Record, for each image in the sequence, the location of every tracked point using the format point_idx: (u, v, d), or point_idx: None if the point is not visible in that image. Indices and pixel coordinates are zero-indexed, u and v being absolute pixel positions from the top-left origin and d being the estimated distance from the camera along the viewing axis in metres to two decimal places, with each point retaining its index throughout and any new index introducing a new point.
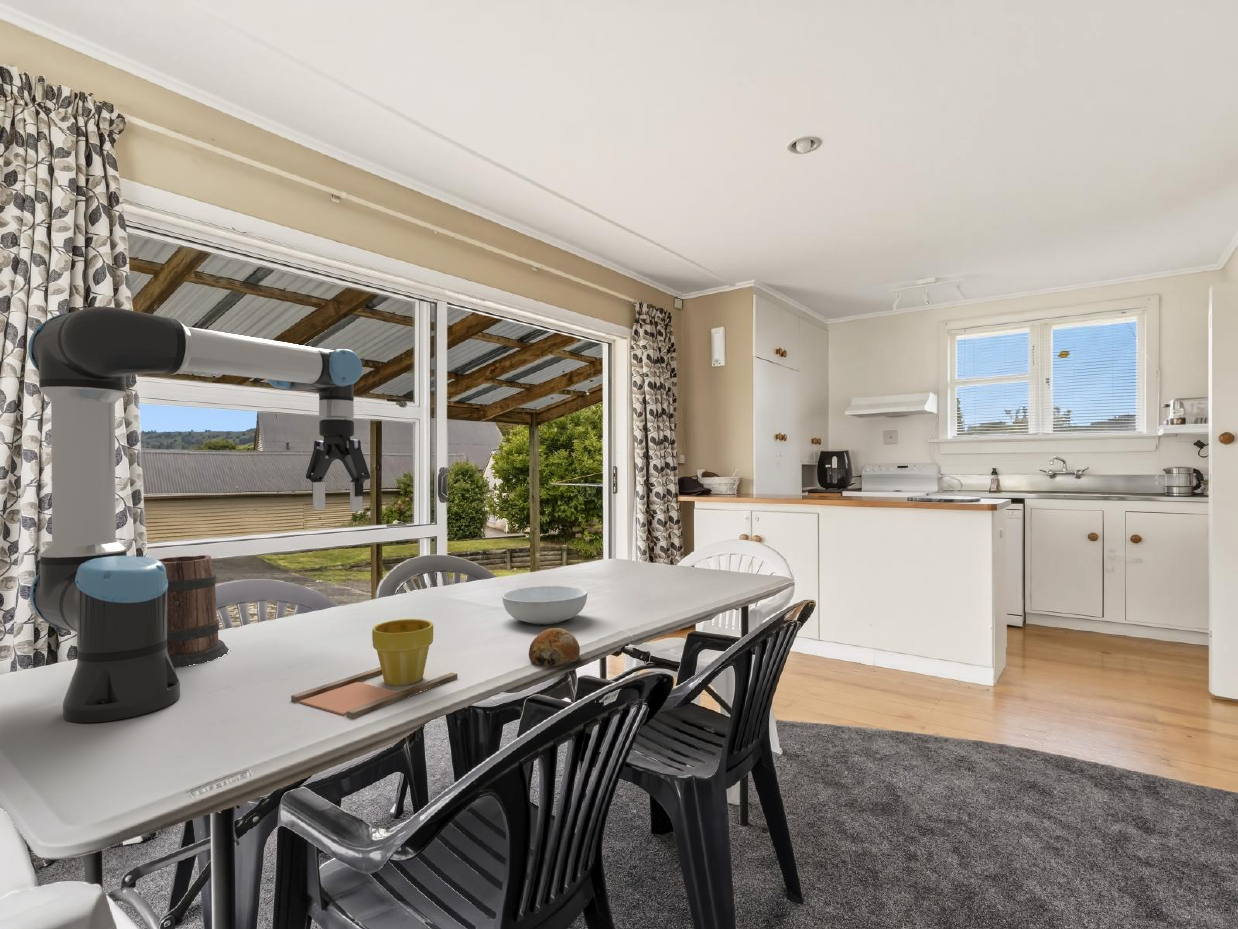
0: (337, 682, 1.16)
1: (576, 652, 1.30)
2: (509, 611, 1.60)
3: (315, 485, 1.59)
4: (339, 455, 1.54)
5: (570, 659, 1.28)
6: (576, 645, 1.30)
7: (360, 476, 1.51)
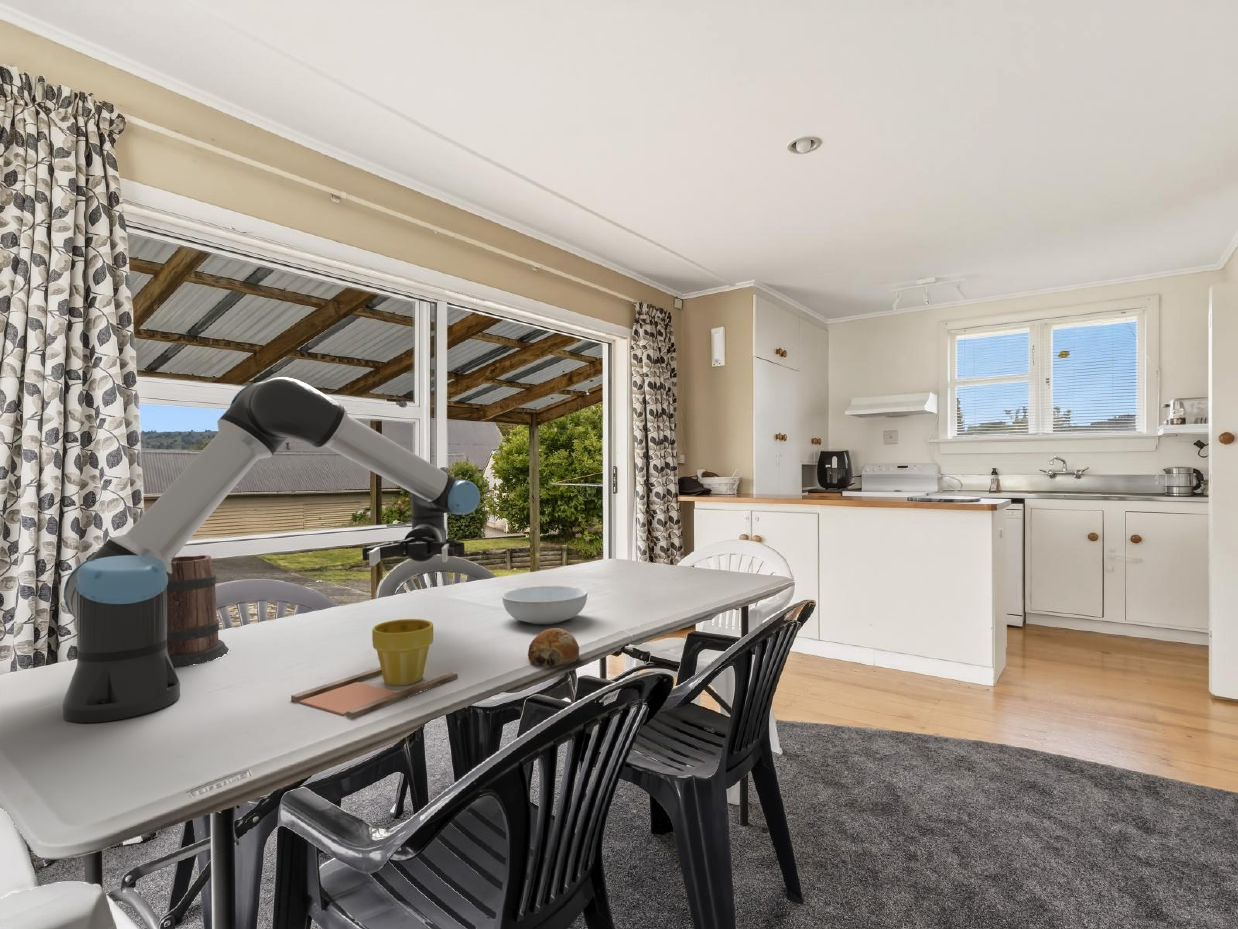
0: (337, 682, 1.16)
1: (575, 652, 1.29)
2: (509, 611, 1.60)
3: (378, 549, 1.34)
4: (432, 539, 1.43)
5: (569, 659, 1.28)
6: (575, 645, 1.30)
7: (462, 543, 1.39)
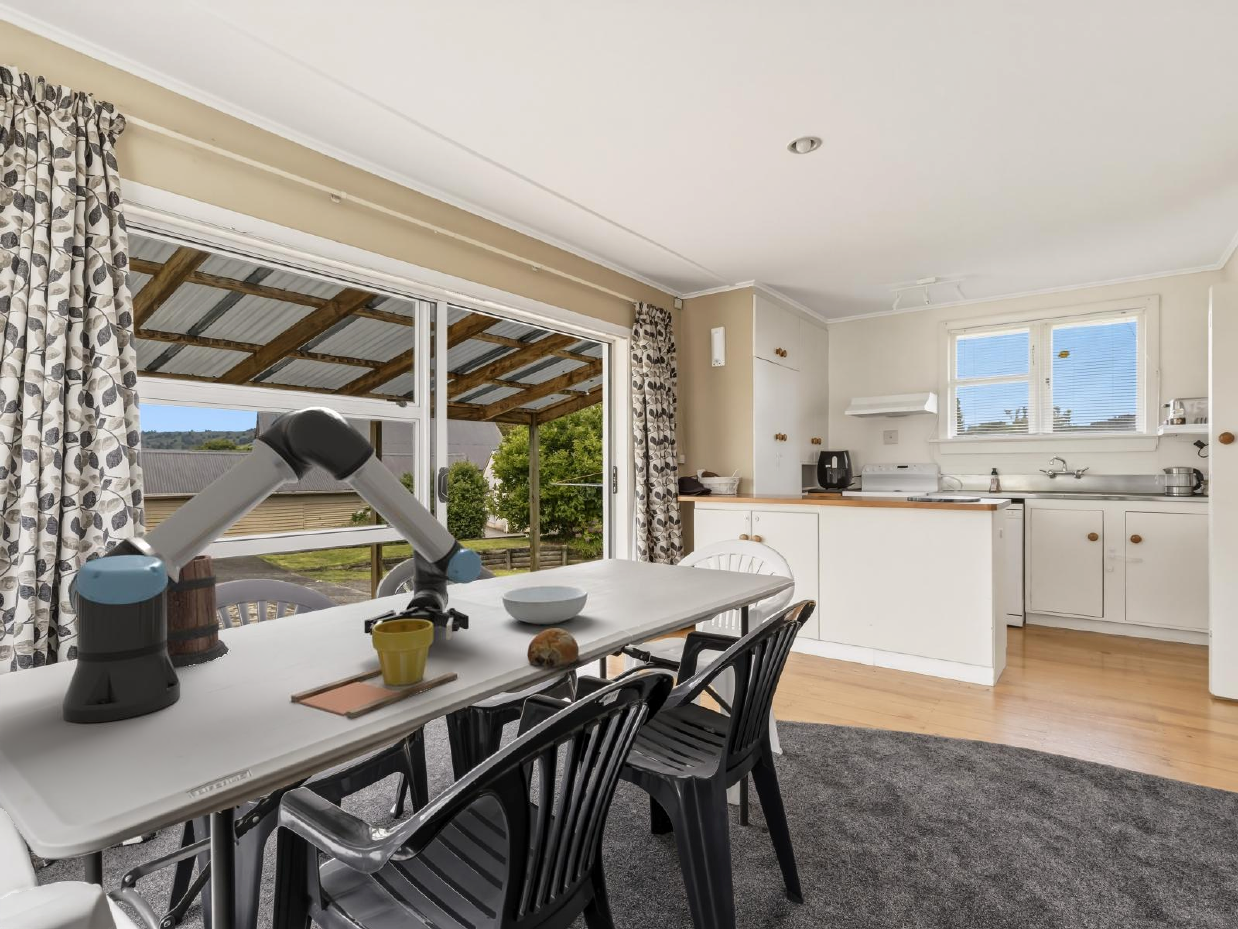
0: (337, 682, 1.16)
1: (575, 653, 1.29)
2: (509, 611, 1.60)
3: (381, 622, 1.32)
4: (436, 610, 1.40)
5: (569, 659, 1.28)
6: (575, 645, 1.30)
7: (467, 616, 1.37)
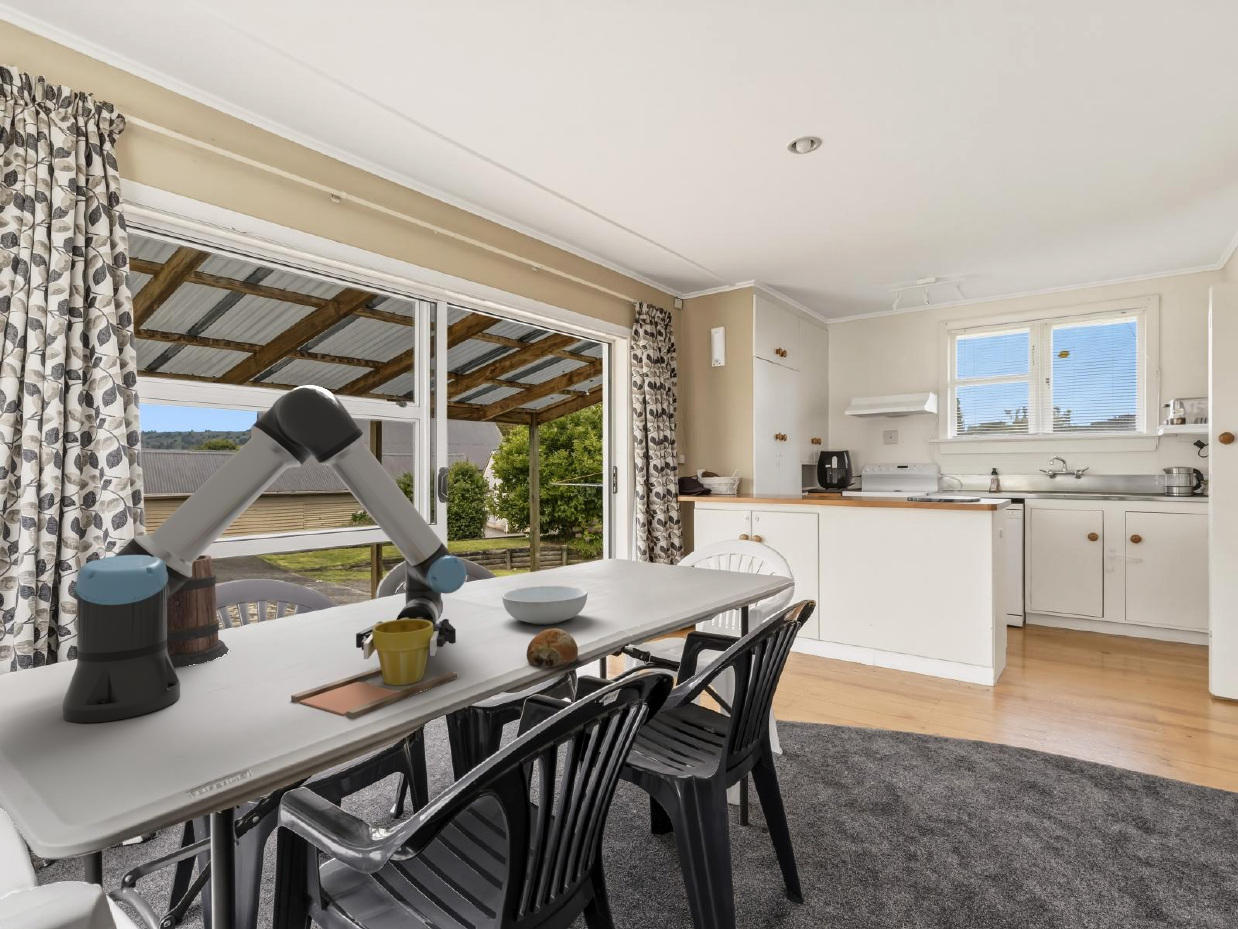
0: (337, 682, 1.16)
1: (574, 653, 1.29)
2: (509, 611, 1.60)
3: None
4: None
5: (568, 660, 1.28)
6: (574, 646, 1.30)
7: (454, 629, 1.25)
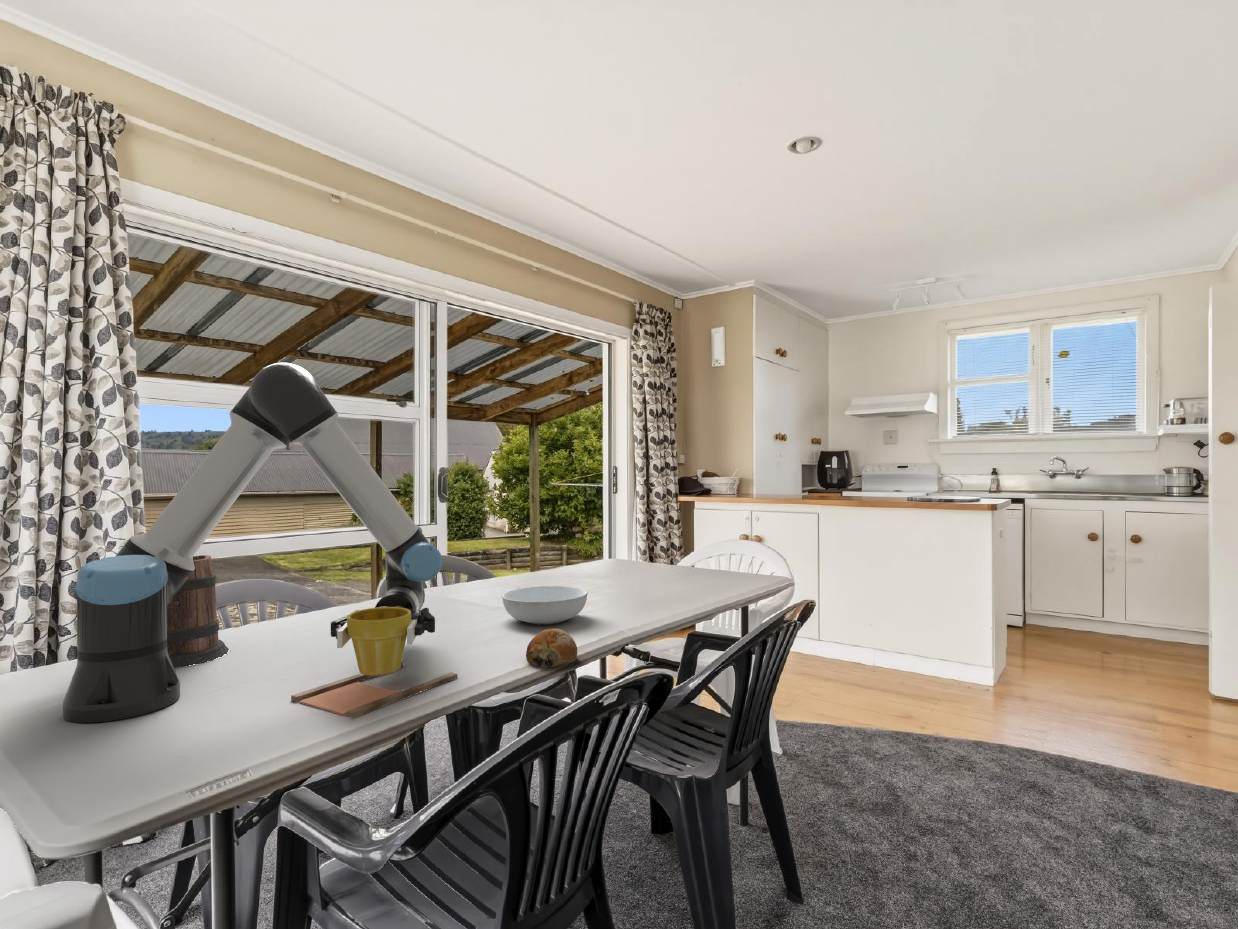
0: (337, 682, 1.16)
1: (573, 653, 1.29)
2: (509, 611, 1.60)
3: None
4: None
5: (567, 660, 1.28)
6: (574, 646, 1.30)
7: (433, 618, 1.20)
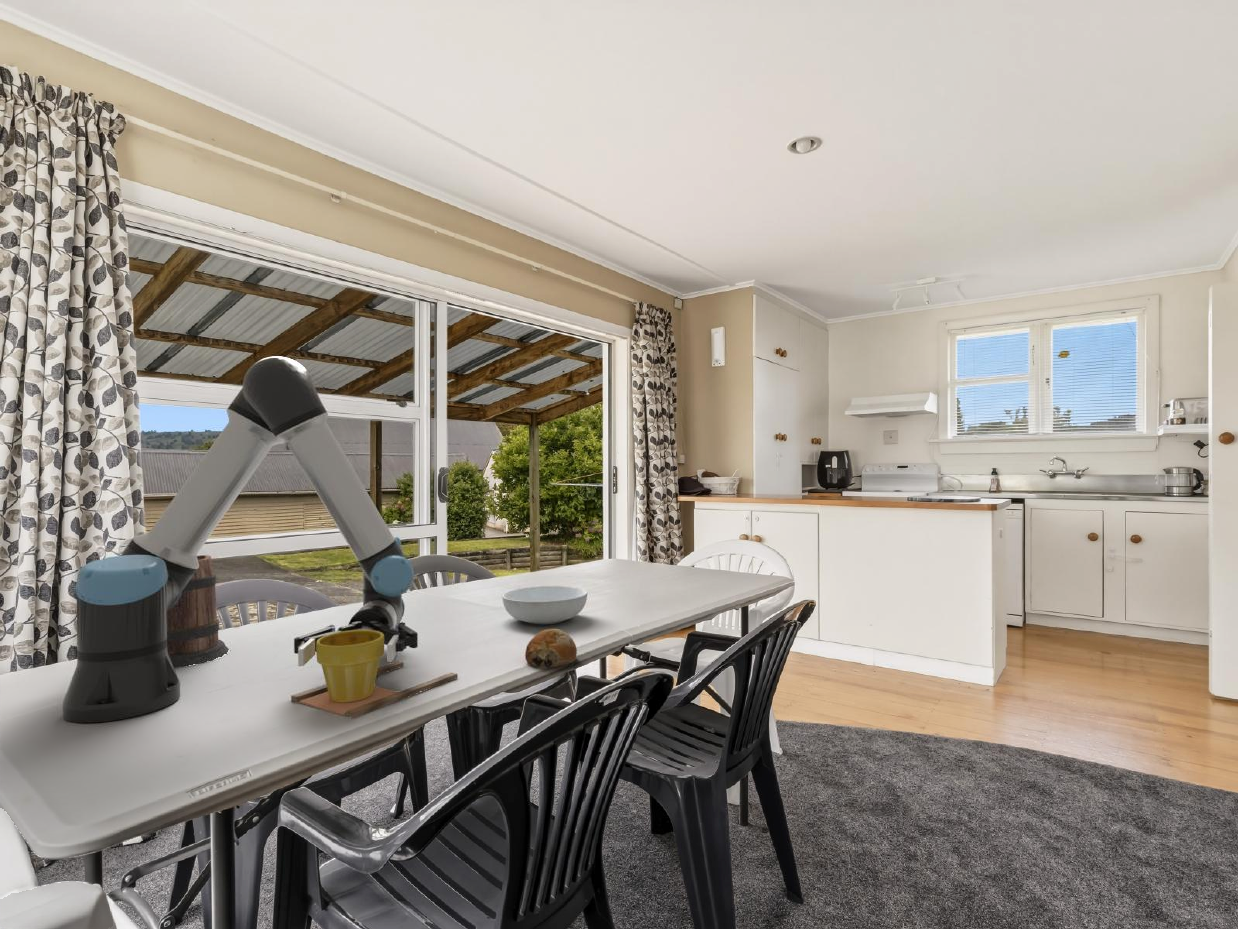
0: None
1: (573, 653, 1.29)
2: (509, 611, 1.60)
3: (313, 641, 1.12)
4: (381, 625, 1.20)
5: (567, 660, 1.28)
6: (573, 646, 1.29)
7: (415, 633, 1.17)
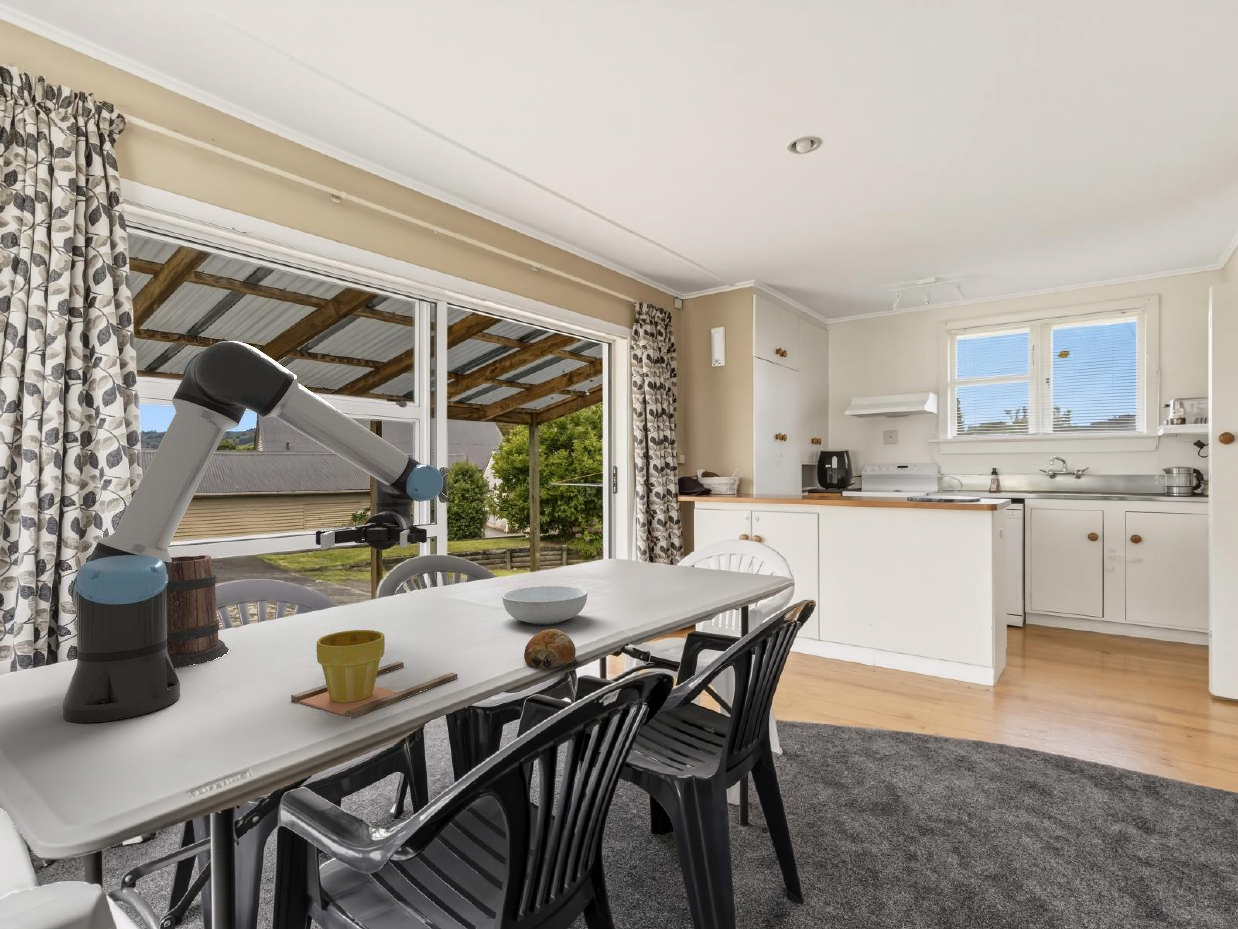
0: None
1: (572, 654, 1.29)
2: (509, 611, 1.60)
3: (333, 532, 1.25)
4: (393, 525, 1.33)
5: (566, 661, 1.27)
6: (572, 646, 1.29)
7: None
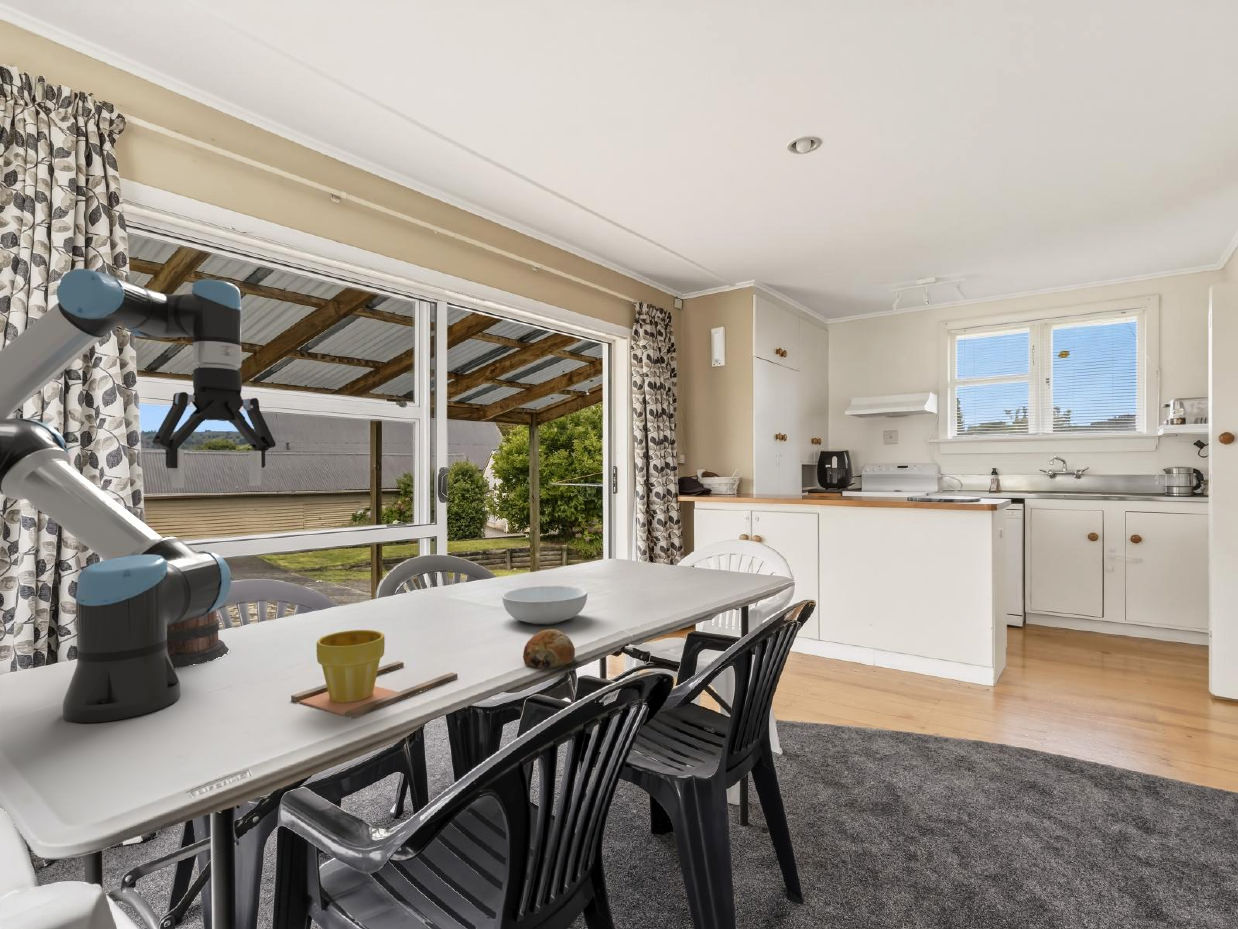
0: None
1: (571, 654, 1.28)
2: (509, 611, 1.60)
3: (250, 455, 1.27)
4: None
5: (565, 661, 1.27)
6: (571, 647, 1.29)
7: None
